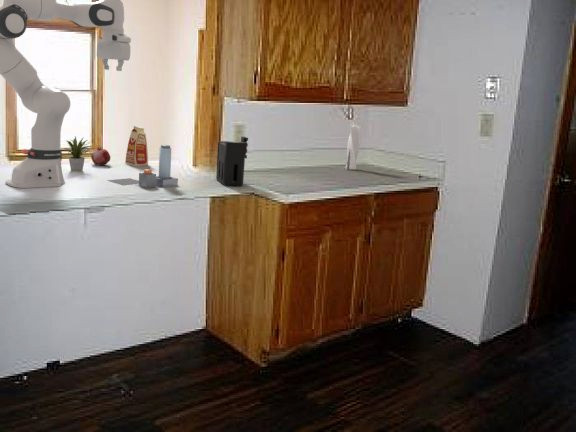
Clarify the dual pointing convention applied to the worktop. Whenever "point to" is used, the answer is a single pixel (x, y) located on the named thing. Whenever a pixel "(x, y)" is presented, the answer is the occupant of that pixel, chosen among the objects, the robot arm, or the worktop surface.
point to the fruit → (100, 156)
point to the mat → (125, 181)
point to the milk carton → (137, 148)
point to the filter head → (155, 181)
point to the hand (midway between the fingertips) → (112, 70)
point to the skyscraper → (353, 147)
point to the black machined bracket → (231, 162)
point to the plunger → (147, 171)
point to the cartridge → (164, 162)
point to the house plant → (77, 155)
